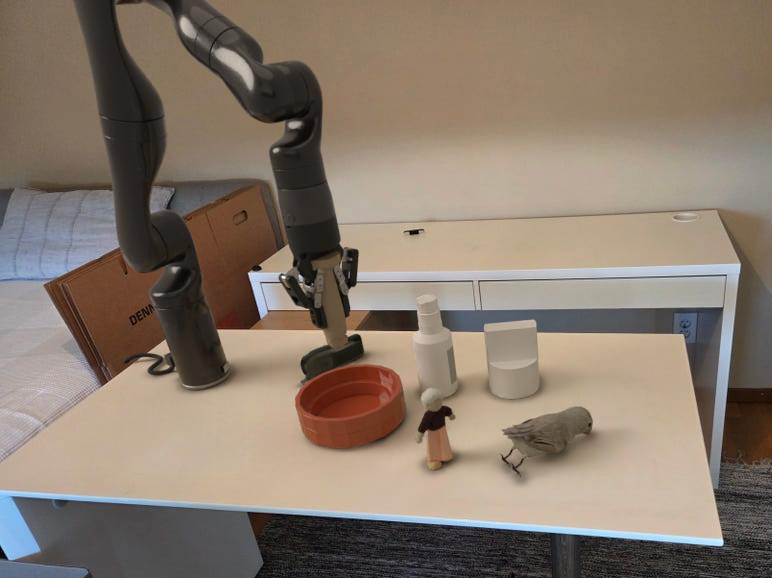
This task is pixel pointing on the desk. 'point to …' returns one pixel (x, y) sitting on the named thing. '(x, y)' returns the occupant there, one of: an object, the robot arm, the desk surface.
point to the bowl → (351, 405)
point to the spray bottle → (434, 349)
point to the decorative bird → (548, 433)
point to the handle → (332, 301)
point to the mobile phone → (331, 357)
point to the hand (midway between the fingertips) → (332, 321)
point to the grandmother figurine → (435, 428)
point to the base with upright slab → (512, 358)
